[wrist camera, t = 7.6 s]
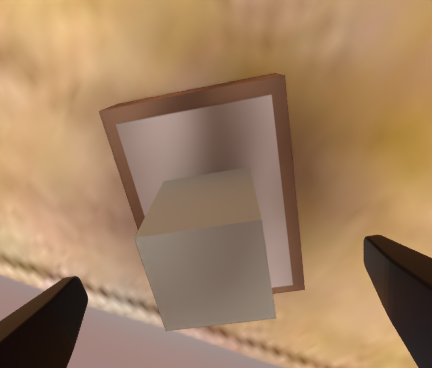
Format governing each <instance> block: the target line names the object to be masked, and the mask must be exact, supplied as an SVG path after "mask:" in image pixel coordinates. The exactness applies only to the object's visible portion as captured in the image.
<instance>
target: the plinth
mask: <svg viewBox="0 0 432 368" xmlns="http://www.w3.org/2000/svg"><path fill="white" fill-rule="evenodd" d="M99 113H100V116H101V119H102V122H103V125H104V128H105V131H106V134H107V137H108V140H109V143H110V146H111V149H112V152H113V155H114V159H115V162H116V165H117V168H118V171H119V174H120V177H121V180H122V183H123V186H124V189H125V192H126V195H127V198H128V201H129V204H130V207H131V210H132V213H133V216H134V219H135V222H136V225H137V228H138V230H139V228H140V226H141V224H142V222H143V220H144V218H145V216H146V214H147V213H148V211H149V209H150V207H151V205H152V203H153V201H154V199H155V197H156V195H157V193H158V191H159V189H160V187H161V185H162V183H163V182H164V181H167V180H174V179H180V178H186V177H192V176H198V175H204V174H210V173H216V172H222V171H228V170H234V169H240V168H246V167H250V171H251V175H252V180H253V184H254V188H255V193H256V197H257V201H258V206H259V210H260V214H261V219H262V225H263V232H264V239H265V246H266V252H267V259H268V266H269V273H270V280H271V287H272V294H274V293H282V292H290V291H298V290H305V286H304V275H303V264H302V254H301V243H300V232H299V222H298V211H297V200H296V190H295V179H294V169H293V158H292V147H291V137H290V126H289V115H288V105H287V94H286V83H285V75H281V74H277V73H274V74H269V75H264V76H259V77H254V78H248V79H243V80H238V81H233V82H228V83H223V84H218V85H213V86H208V87H202V88H197V89H192V90H187V91H182V92H177V93H172V94H167V95H162V96H156V97H151V98H146V99H141V100H136V101H131V102H126V103H121V104H117V105H114V106H111V107H109V108H106V109H104V110H101V111H99Z"/></svg>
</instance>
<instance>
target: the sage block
mask: <svg viewBox="0 0 432 368" xmlns="http://www.w3.org/2000/svg"><path fill="white" fill-rule="evenodd" d="M134 239H135V242H136V245H137V248H138V251H139V254H140V257H141V260H142V263H143V266H144V269H145V271H146V274H147V277H148V280H149V283H150V286H151V289H152V292H153V295H154V298H155V301H156V304H157V307H158V310H159V313H160V316H161V319H162V322H163V325H164V327H165V330H166V331H171V330H179V329H188V328H197V327H205V326H214V325H223V324H232V323H240V322H249V321H258V320H266V319H275V318H276V314H275V307H274V300H273V294H272V287H271V280H270V273H269V266H268V259H267V252H266V246H265V239H264V232H263V225H262V219H261V214H260V210H259V206H258V201H257V197H256V193H255V188H254V184H253V180H252V175H251V171H250V167H246V168H240V169H234V170H228V171H222V172H216V173H210V174H204V175H198V176H192V177H186V178H180V179H174V180H167V181H164V182H163V183H162V185H161V187H160V189H159V191H158V193H157V195H156V197H155V199H154V201H153V203H152V205H151V207H150V209H149V211H148V213H147V214H146V216H145V218H144V220H143V222H142V224H141V226H140V228H139V230H138V232H137V234H136V236H135V238H134Z"/></svg>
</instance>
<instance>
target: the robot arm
mask: <svg viewBox="0 0 432 368" xmlns="http://www.w3.org/2000/svg"><path fill="white" fill-rule="evenodd" d="M364 264H365V267H366V270H367V272H368V274H369V276H370V278H371V281H372V283H373V285H374V287H375V289H376V292H377V294H378V296H379V298H380V300H381V303H382V305H383V307H384V309H385V311H386V313H387V315H388V317H389V319H390V320H391V322H392V324H393V326H394V327H395V329H396V331H397V332H398V334H399V336H400V337H401V339H402V341H403V342H404V344H405V346H406V347H407V349H408V351H409V352H410V354H411V356H412V357H413V359H414V361H415V362H416V364H417V366H418V367H419V368H432V258H430V257H428V256H426V255H424V254H421V253H419V252H417V251H415V250H413V249H410V248H408V247H406V246H404V245H401V244H399V243H397V242H395V241H393V240H390V239H388V238H386V237H384V236H381V235H373V236H366V237H365V238H364ZM87 303H88V296H87V293H86V291H85V289H84V287H83V284H82V282H81V280H80V278H78V277H77V276H73V277H66V278H63V279H62V280H60V281H59V282H57V283H56V284H54V285H53V286H51V287H50V288H48V289H47V290H46V291H44V292H43V293H41V294H40V295H38V296H37V297H35V298H34V299H32V300H31V301H29V302H28V303H27V304H25V305H23V306H22V307H20V308H19V309H18V310H16V311H15V312H13V313H12V314H10V315H9V316H7V317H6V318H4V319H3V320H1V321H0V368H67V365H68V363H69V360H70V358H71V355H72V352H73V350H74V347H75V343H76V340H77V337H78V334H79V330H80V327H81V324H82V320H83V317H84V313H85V310H86V307H87Z"/></svg>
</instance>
